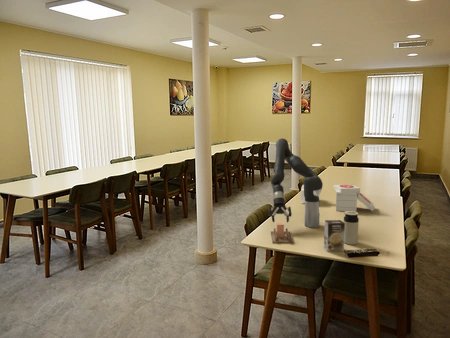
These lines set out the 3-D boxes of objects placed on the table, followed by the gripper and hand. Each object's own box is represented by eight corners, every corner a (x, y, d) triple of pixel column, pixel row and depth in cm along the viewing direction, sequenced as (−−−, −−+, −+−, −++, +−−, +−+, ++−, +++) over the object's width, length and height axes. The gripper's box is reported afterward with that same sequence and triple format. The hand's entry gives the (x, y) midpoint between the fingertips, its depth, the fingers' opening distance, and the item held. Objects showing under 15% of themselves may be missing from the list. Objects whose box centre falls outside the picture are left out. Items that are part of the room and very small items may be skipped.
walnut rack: (289, 232, 219) (289, 228, 219) (293, 243, 202) (293, 238, 201) (270, 232, 220) (270, 228, 220) (272, 243, 203) (272, 238, 202)
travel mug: (360, 244, 198) (361, 214, 195) (346, 245, 197) (347, 214, 194) (353, 239, 205) (355, 210, 203) (340, 240, 205) (341, 211, 202)
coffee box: (327, 252, 188) (328, 223, 186) (323, 247, 194) (324, 220, 192) (344, 251, 188) (345, 223, 186) (339, 247, 195) (340, 219, 192)
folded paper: (301, 184, 285) (322, 186, 281) (302, 179, 308) (322, 181, 304) (299, 204, 288) (320, 207, 284) (300, 197, 311) (320, 200, 307)
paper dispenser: (375, 213, 257) (376, 190, 254) (333, 211, 266) (333, 188, 263) (372, 207, 275) (373, 185, 272) (333, 205, 284) (333, 183, 281)
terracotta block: (283, 235, 213) (283, 222, 211) (283, 237, 209) (283, 224, 207) (276, 235, 213) (276, 222, 212) (277, 237, 209) (277, 224, 208)
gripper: (268, 196, 226) (269, 219, 216) (290, 196, 225) (292, 219, 216) (267, 202, 232) (269, 224, 223) (289, 202, 231) (291, 224, 222)
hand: (280, 221), depth 219 cm, fingers open, 8 cm apart
